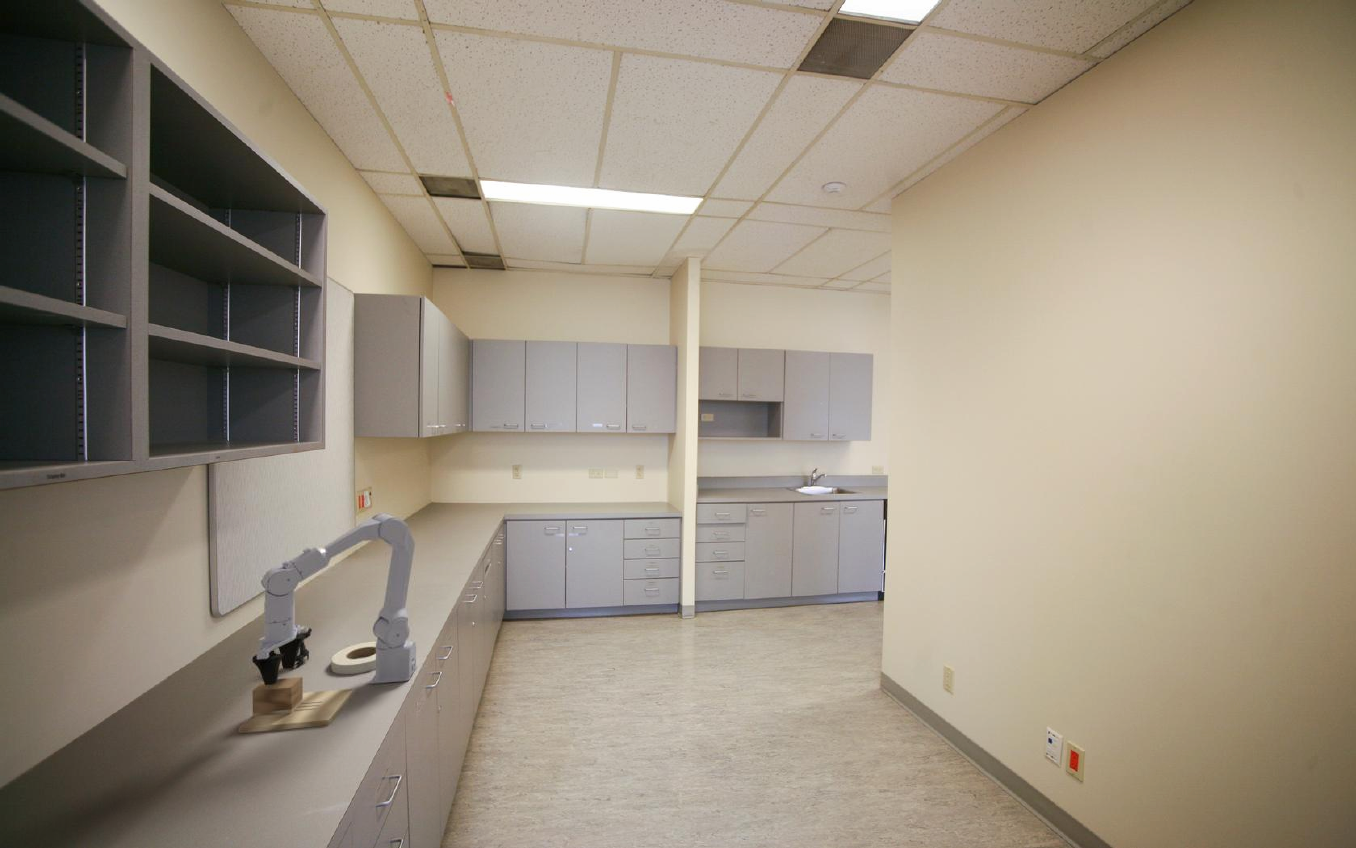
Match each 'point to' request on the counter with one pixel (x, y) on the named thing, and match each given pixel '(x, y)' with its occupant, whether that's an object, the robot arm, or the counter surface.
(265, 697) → the block
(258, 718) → the board
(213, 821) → the counter surface
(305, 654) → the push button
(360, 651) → the roll of tape
